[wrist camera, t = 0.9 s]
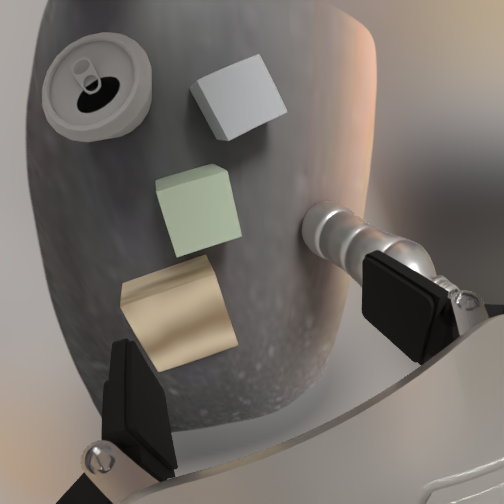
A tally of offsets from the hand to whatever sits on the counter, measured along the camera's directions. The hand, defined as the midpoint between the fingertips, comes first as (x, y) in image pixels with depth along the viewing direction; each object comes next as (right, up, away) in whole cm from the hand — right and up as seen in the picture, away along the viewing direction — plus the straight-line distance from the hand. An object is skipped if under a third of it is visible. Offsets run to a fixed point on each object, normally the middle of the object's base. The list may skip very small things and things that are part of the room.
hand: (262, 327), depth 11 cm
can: (-13, +17, +12) cm, 25 cm away
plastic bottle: (+8, +6, +25) cm, 27 cm away
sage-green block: (-7, +8, +19) cm, 21 cm away
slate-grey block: (-3, +18, +16) cm, 24 cm away
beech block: (-9, -3, +23) cm, 25 cm away
